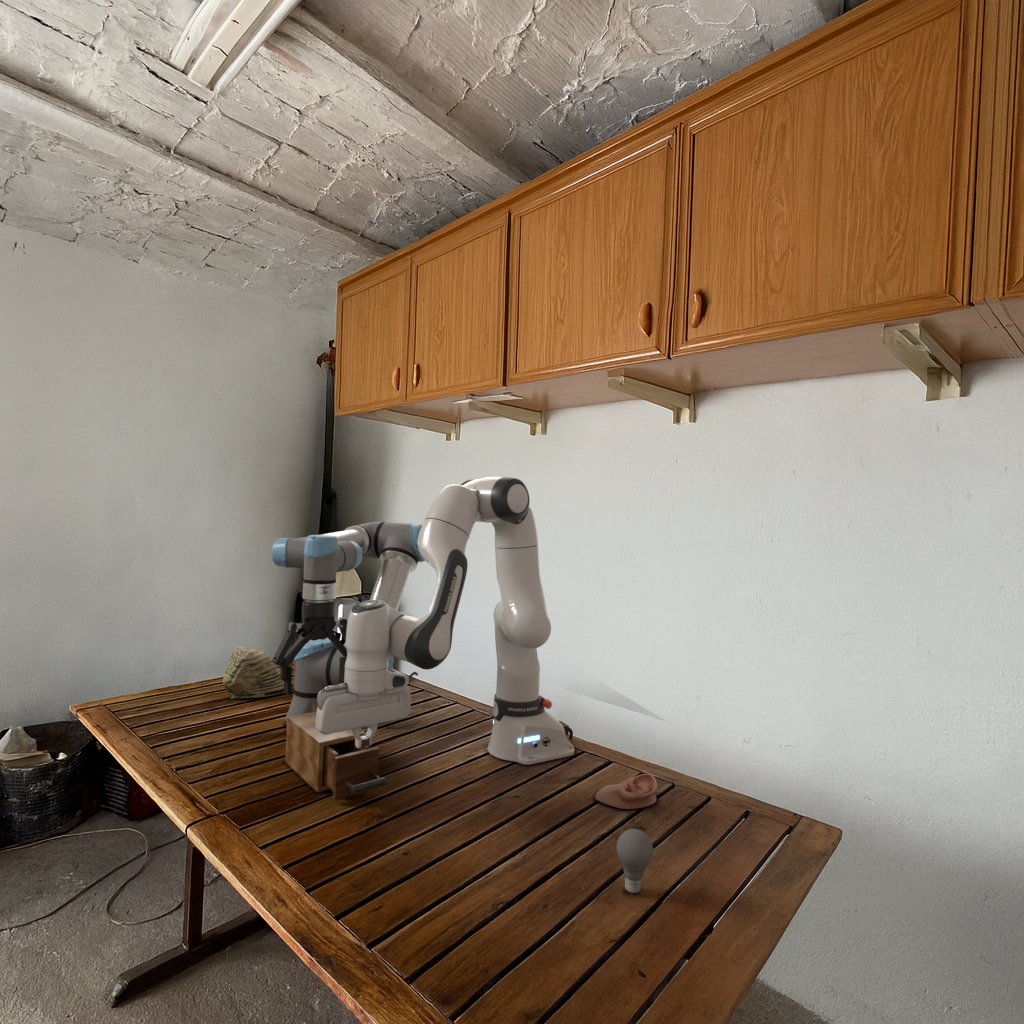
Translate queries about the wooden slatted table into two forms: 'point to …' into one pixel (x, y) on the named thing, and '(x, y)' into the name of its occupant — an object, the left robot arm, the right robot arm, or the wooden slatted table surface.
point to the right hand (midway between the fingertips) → (363, 746)
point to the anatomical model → (630, 793)
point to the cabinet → (310, 748)
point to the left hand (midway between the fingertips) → (315, 689)
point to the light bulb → (634, 857)
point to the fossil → (252, 674)
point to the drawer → (350, 769)
